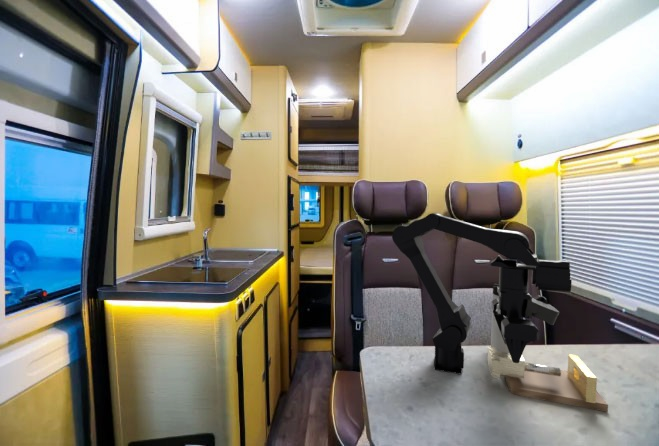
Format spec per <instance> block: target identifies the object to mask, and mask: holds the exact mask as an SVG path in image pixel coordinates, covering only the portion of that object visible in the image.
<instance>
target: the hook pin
mask: <svg viewBox="0 0 659 446" xmlns="http://www.w3.org/2000/svg"><path fill="white" fill-rule="evenodd" d="M487 365H488V370H489V373H490V376H491V378H495V379H500V377H501V375H503V376H505V375H508V376H514V377H520V378H524V371H529V372H535V373H541V374H547V375H553V376H559V377H560V376H561V371H560V370H561V368H560V367H556V366H552V365H551V366H550V365H543V364H537V363H531V362H526V361H525V358H524V357H523V355H522V356H521V359H520V361H519V363H514V362H513V361H512V358H511V356H510V353H505V352H498V351H496V348H495V347H491V346H487Z"/></svg>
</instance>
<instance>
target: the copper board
mask: <svg viewBox="0 0 659 446" xmlns="http://www.w3.org/2000/svg"><path fill="white" fill-rule="evenodd" d="M560 371H561V376H560V377H559V376H553V375H547V374H541V373H535V372H529V371H524V378H520V377H514V376H508V375H504V378H505V382H506V384H507V386H508V389H509V392H510V394H511V395H515V396H520V397H521V396H522V397H527V398H532V399H536V400H544V401H549V402H553V403H559V404H564V405H569V406H574V407H580V408H585V409H591V410H596V411H603V412H606V413H607V412H609V404H608V402H607V401H606V399H604V397H603V396H602V395H601V394H600V393H599V391H597V390H596V403H590V402H586V401H585V400H584V399H583V397H582V396H581V394H580V393H579V392H578V390H577V389H576V387H575V386H574V385H573V383H572V382H571V381H570V379H569V378H568V376H567V374H568V370H563V369H560Z"/></svg>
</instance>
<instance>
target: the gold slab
mask: <svg viewBox="0 0 659 446" xmlns="http://www.w3.org/2000/svg"><path fill="white" fill-rule="evenodd" d="M567 371H568V374H567V376H568V378H569V379H570V381H571V382H572V383H573V385H574V386H575V387H576V389H577V390H578V392H579V393H580V394H581V396H582V397H583V399H584V400H585V401H586V402H590V403H596V391H597V384H598V383H597V380H598V379H597V377H596V375H595V374H594V373H593V372H592V371H591V370H590V369H589V367H587V365H586V364H585V363H584V362H583V361H582V359H580V357H579V356H578V355H577V354H568V355H567Z"/></svg>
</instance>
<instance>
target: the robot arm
mask: <svg viewBox="0 0 659 446" xmlns="http://www.w3.org/2000/svg"><path fill="white" fill-rule="evenodd" d="M434 230H437V231H440V232H443V233H446V234H450V235H452V236H455V237H456V236H457V237H459V238H462V239H465V240H468V241H472V242H476V243H478V244H481V245H483V246H485V247H487V248H488V249H490V250H492V251H494V252H495V253H497V254H499V255H497V256H496V258H495V259H492V260H491V261H490V263H489V265H490V266H491V267H498V268H499V273H498V275H499V276H498V282H499V287H497V292H498V293H499V299H497V298H496V299H494V300H493V301H491V311H492V310H493V314H494V317H495V320H496V322H497V325H498V327H499V330H500V333H501V335H502V338H503V340H504V343H505V344H506V345H507V348H508V350H509V353H510V356H511V358H512V361H513V362H514V363H519V361H520V359H521V356H522V357H523V353H524V351H525V348H526V347H527V344H529V343H535V342H536V341H540V330H539V328H538V327H537V326H536V324H534V322H532V321H531V319H532V320H533V317H534V318H537V319H539V320H541V321H543V322H546V323H547V324H548V325H550V326H554V324H555V322H556V320H557V318H558V316H559V314H560V311H559V310H558V309H557V308H555V307H554V306H552V305H551V304H550V303H548V300H547V298H546V297H545V296H543V295H539V294H537V295H536V296H534V297H533V296H532V295H531V294H530V293H529V275H530V274H529V273H530V272H529V271H531V270H532V271H531V272H532V273H531V286H535V287H536V288H537V291H543V292H544V291H545V292H552V293H553V292H554V293H562V294H571V291H572V283H573V282H572V280H573V279H572V278H571V269H570V267H571V262H570V261H569V260H562V259H561V260H560V259H559V260H551V259H539V257H538V255H537V254H536V253H535V252H534V251H533V250H532V249H531V248H530V247H531V246H530V240H529V238H528V236H527V235H526V234H524V233H523V232H520V231H517V230H507V229H499V228H498V229H496V228H488V227H484V226H480V225H478V224H474V223H470V222H466V221H463V220H460V219H456V218H452V217H449V216H445V215H443V214H441V213H438V212H434V213H429V214H427V215H426V216H425V217H423V218H420V219H418V220H416V221H414V222H412V223H410V224H403V225H399V226H397V227H396V228H394V230H393V231H392V234H391V240H392V242H393V243H394V245H395V246H396V247H397V249H398V250H399V251H400V252H401V254H403V256H405V257H406V258H407V259H409V261H410V263H411V265H412V267H413V268H414V270H415V272H416V275H417V276H418V278H419V280H420V282H421V283H422V285H423V287H424V289H425V291H426V292H427V295H428V296H429V299H430V300H431V301H432V302H431V303H433V305H434V307H435V310H436V315H437V321H438V324H439V329H438V330H437V332H436V333H435V334H434V336H432V342H433V345H434V359H433V361H434V363H433V369H434V370H436V371H442V372H446V373H452V374H459V375H462V374H463V373H462V372H463V369H464V367H465V366H464V364H465V363H464V361H465V352H464V351H465V350H464V348H462V343H464V342H465V341H466V339H467V337H468V335H469V333H470V330H471V326H472V323H471V319H472V317H471V316H470V315H469V314H468V313H467V311H466V308H465V306H464V304H460V305H457V304H456V303H455V302H454V301H453V300H452V299H451V297H450V295H449V293H448V291H447V290H446V288H445V286H444V284H443V282H442V280H441V279H440V277H439V275H438V274H437V271H436V269H435V268H434V266H433V264H432V262H431V261H430V259H429V257H428V255H427V253H426V251H425V245H424V239H423V238H422V237H423V236H424V235H426V234H429V233H430V232H432V231H434ZM502 256H503V257H505V258H503V257H502ZM517 260H518V261H520V262H522V263H518V261H517ZM523 318H525V319H523Z"/></svg>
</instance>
